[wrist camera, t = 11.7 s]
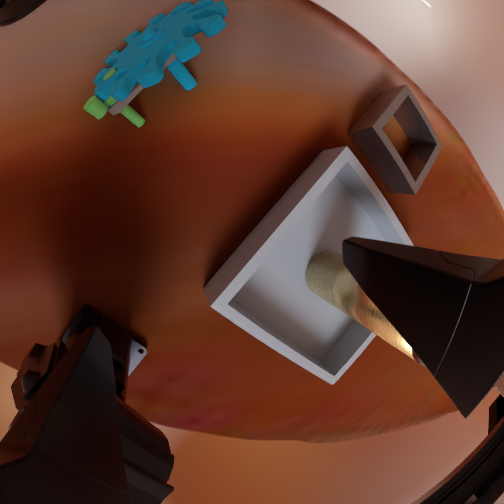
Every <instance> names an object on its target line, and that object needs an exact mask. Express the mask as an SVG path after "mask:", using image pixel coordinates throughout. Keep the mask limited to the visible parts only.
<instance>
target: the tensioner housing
mask: <svg viewBox="0 0 504 504" xmlns="http://www.w3.org/2000/svg"><path fill="white" fill-rule="evenodd" d="M392 115H394V116H395V118H396V119H397V121H398V123H399V124H400V126H401V127H402V129H403V130H404V132H405V133H406V135H407V137H408V138H409V140H410V142H411V143H412V145H413V147H412V148H411V150H410V151H409V153H408V154H407V156H406V158H405V159H404V161H403V160H402V159H401V157H400V155H399V154H398V152H397V151H396V149H395V147H394V146H393V144H392V143H391V141H390V140H389V138H388V137H387V135H386V134H385V132H384V131H383V129H382V128H383V127H384V126H385V125H386V123H387V122H388V121H389V119H390V118H391V117H392ZM347 133H348V135H349V136H350V137H351V138H352V140H353V141H354V142H355V144H356V145H357V146H358V148H359V149H360V150H361V152H362V153H363V154H364V156H365V157H366V158H367V160H368V161H369V163H370V164H371V165H372V167H373V168H374V170H375V171H376V173H377V174H378V175H379V177H380V178H381V180H382V181H383V183H384V184H385V186H386V187H387V189H388V191H389V192H390V193H403V194H414V195H415V194H416V193H417V191H418V189H419V188H420V186H421V184H422V183H423V181H424V179H425V177H426V176H427V174H428V172H429V170H430V169H431V167H432V165H433V163H434V161H435V159H436V157H437V156H438V154H439V152H440V150H441V148H442V144H441V142H440V140H439V138H438V136H437V134H436V132H435V131H434V129H433V127H432V125H431V123H430V122H429V120H428V118H427V116H426V115H425V113H424V111H423V110H422V108H421V106H420V105H419V103H418V101H417V100H416V98H415V97H414V95H413V94H412V92H411V90H410V89H409V87H408V86H407V85H403V86H399V87H396V88H393V89H390V90H387V91H383V92H382V93H381V94H380V95H379V97H378V98H377V99H376V100H375V101H374V102H373V103H372V104H371V106H370V107H369V108H368V109H367V110H366V111H365V112H364V114H363V115H362V116H361V117H360V118H359V119H358V120H357V122H356V123H355V124H354V125H353V126H352V127H351V128H350V130H349V131H348V132H347Z"/></svg>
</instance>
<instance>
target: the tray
mask: <svg viewBox="0 0 504 504" xmlns="http://www.w3.org/2000/svg"><path fill="white" fill-rule="evenodd" d="M352 236H354V237H361V238H367V239H374V240H380V241H386V242H392V243H398V244H404V245H410V246H413V244H412V242H411V240H410V239H409V237H408V235H407V233H406V232H405V230H404V228H403V227H402V225H401V223H400V222H399V220H398V218H397V217H396V215H395V213H394V212H393V210H392V209H391V207H390V206H389V204H388V202H387V201H386V199H385V198H384V196H383V195H382V193H381V192H380V190H379V189H378V187H377V186H376V185H375V183H374V182H373V180H372V179H371V177H370V176H369V175H368V173H367V172H366V170H365V169H364V168H363V166H362V165H361V164H360V162H359V161H358V160H357V158H356V157H355V156H354V154H353V153H352V152H351V150H350V149H349V148H348V147H347V146H344V147H338V148H333V149H328V150H323V151H321V153H320V154H319V155H318V156H317V157H316V158H315V159H314V161H313V162H312V163H311V164H310V165H309V166H308V167H307V168H306V170H305V171H304V172H303V173H302V174H301V175H300V176H299V178H298V179H297V180H296V181H295V182H294V183H293V184H292V186H291V187H290V188H289V189H288V190H287V191H286V192H285V194H284V195H283V196H282V197H281V198H280V199H279V200H278V202H277V203H276V204H275V205H274V206H273V207H272V208H271V210H270V211H269V212H268V213H267V214H266V215H265V217H264V218H263V219H262V220H261V221H260V222H259V224H258V225H257V226H256V227H255V228H254V229H253V230H252V232H251V233H250V234H249V235H248V236H247V237H246V239H245V240H244V241H243V242H242V243H241V244H240V246H239V247H238V248H237V249H236V250H235V251H234V253H233V254H232V255H231V256H230V257H229V259H228V260H227V261H226V262H225V263H224V264H223V266H222V267H221V268H220V269H219V270H218V271H217V273H216V274H215V275H214V276H213V277H212V279H211V280H210V281H209V282H208V283H207V284H206V286H205V287H204V288H203V289H204V292H205V294H206V297H207V299H208V302H209V304H210V307H212V308H213V309H215V310H216V311H218V312H219V313H220V314H222V315H223V316H225V317H226V318H228V319H229V320H230V321H232V322H233V323H235V324H236V325H238V326H239V327H241V328H242V329H244V330H245V331H247V332H248V333H250V334H251V335H253V336H254V337H256V338H257V339H259V340H260V341H262V342H263V343H265V344H266V345H268V346H269V347H271V348H273V349H274V350H276V351H277V352H279V353H280V354H282V355H284V356H285V357H287V358H288V359H290V360H292V361H293V362H295V363H297V364H298V365H300V366H301V367H303V368H305V369H306V370H308V371H310V372H311V373H313V374H315V375H317V376H318V377H320V378H322V379H323V380H325V381H327V382H329V383H330V384H332V385H333V384H334V383H335V382H336V381H337V380H338V379H339V378H340V377H341V376H342V374H343V373H344V372H345V371H346V370H347V369H348V368H349V367H350V366H351V364H352V363H353V362H354V361H355V360H356V359H357V358H358V356H359V355H360V354H361V353H362V352H363V350H364V349H365V348H366V347H367V346H368V344H369V343H370V342H371V341H372V339H373V338H374V337H375V336H376V334H375V333H373V332H372V331H370V330H369V329H367V328H366V327H364V326H363V325H361V324H360V323H358V322H357V321H355V320H354V319H352V318H351V317H349V316H348V315H346V314H345V313H343V312H342V311H340V310H339V309H337V308H336V307H334V306H332V305H331V304H329V303H328V302H326V301H325V300H323V299H322V298H320V297H319V296H317V295H316V294H314V293H313V292H312V291H310V289H309V288H308V286H307V284H306V280H305V273H306V269H307V266H308V264H309V262H310V260H311V259H312V258H313V257H314V256H315V255H316V254H318V253H319V252H321V251H325V250H331V251H334V252H337V253H340V254H343V253H342V242H343V240H344V239H346V238H349V237H352Z"/></svg>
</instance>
